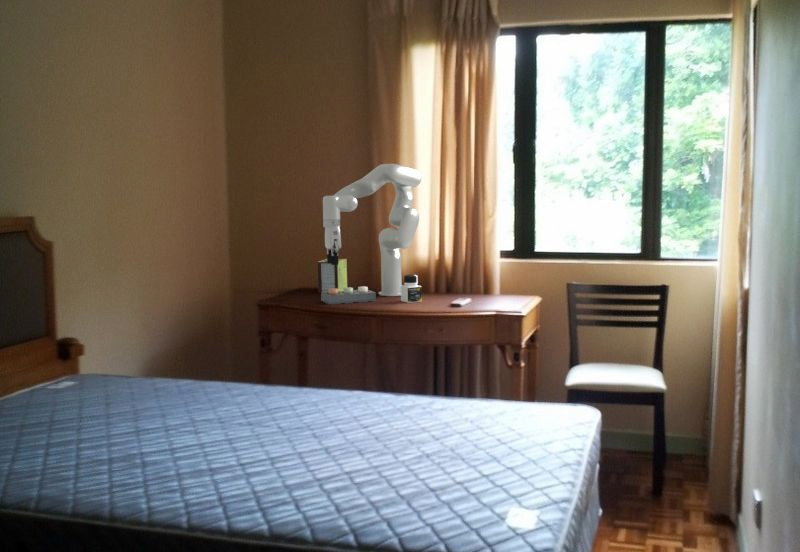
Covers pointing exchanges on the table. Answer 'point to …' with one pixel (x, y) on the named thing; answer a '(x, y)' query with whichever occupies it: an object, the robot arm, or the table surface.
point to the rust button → (333, 291)
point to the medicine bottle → (411, 289)
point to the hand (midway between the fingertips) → (332, 263)
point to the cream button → (363, 289)
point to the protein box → (332, 275)
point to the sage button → (348, 290)
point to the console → (348, 297)
